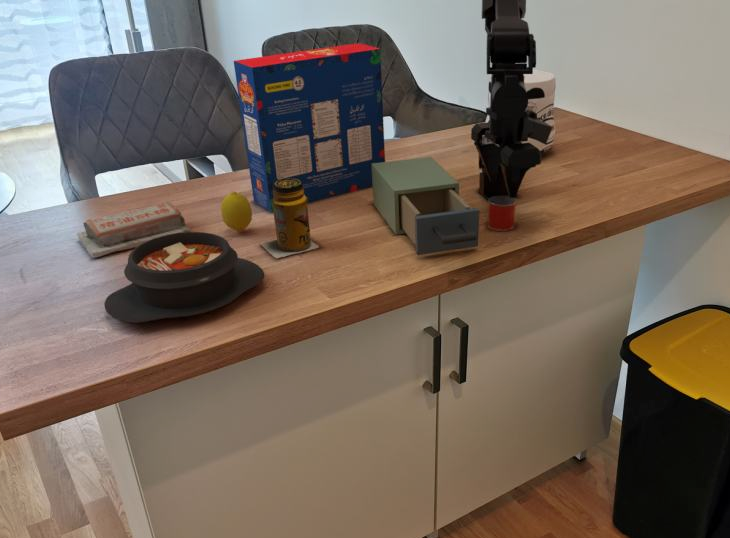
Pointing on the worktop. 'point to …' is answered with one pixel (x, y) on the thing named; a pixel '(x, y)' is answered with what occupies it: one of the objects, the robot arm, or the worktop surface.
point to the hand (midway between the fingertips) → (502, 189)
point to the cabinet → (406, 184)
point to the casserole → (181, 278)
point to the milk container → (538, 103)
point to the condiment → (290, 219)
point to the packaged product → (131, 228)
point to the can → (501, 213)
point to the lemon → (236, 211)
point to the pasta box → (312, 119)
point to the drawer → (438, 221)
